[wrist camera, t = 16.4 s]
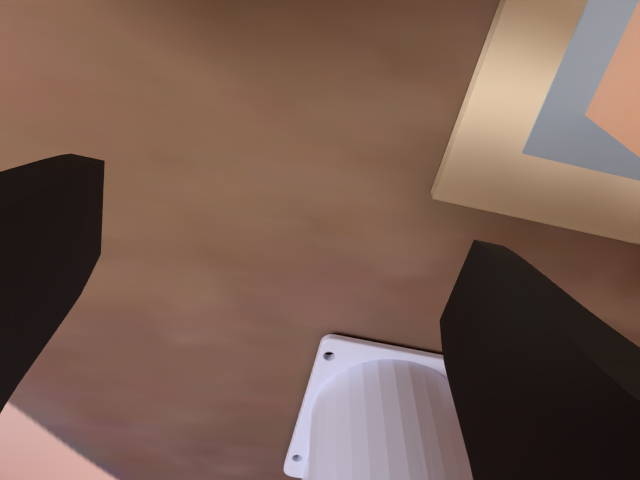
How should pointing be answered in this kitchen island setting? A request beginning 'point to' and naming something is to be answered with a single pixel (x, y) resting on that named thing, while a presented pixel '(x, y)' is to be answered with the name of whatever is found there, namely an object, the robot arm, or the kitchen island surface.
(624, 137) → the terracotta base block
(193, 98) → the kitchen island surface
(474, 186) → the baseboard
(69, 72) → the kitchen island surface
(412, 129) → the kitchen island surface
